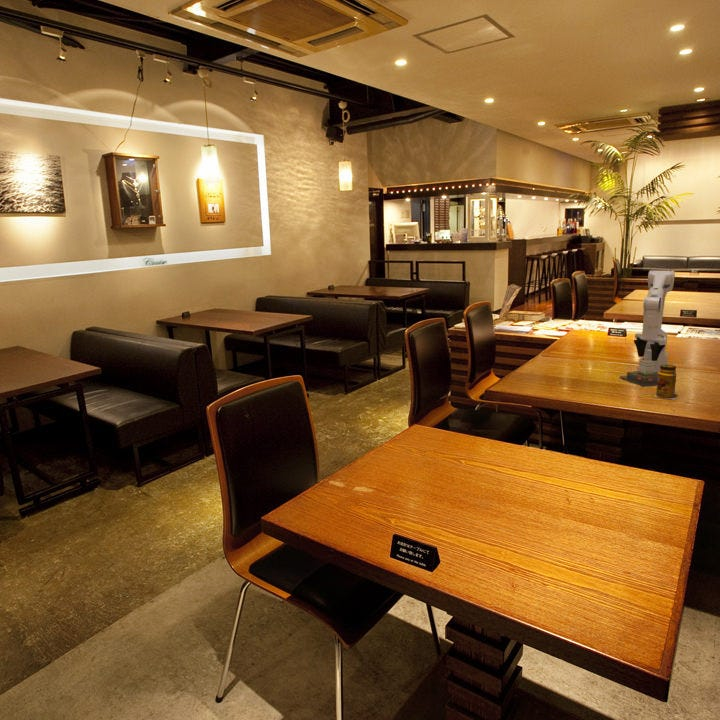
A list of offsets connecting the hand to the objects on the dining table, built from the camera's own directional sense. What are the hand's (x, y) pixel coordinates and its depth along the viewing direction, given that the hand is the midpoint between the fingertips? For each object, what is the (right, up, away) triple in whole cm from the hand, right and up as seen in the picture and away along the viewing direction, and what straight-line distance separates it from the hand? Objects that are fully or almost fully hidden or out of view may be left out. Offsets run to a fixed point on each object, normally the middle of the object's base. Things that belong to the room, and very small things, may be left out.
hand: (647, 358), depth 226 cm
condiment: (-2, -14, -17) cm, 23 cm away
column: (0, -7, +2) cm, 7 cm away
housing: (0, -9, +2) cm, 10 cm away
